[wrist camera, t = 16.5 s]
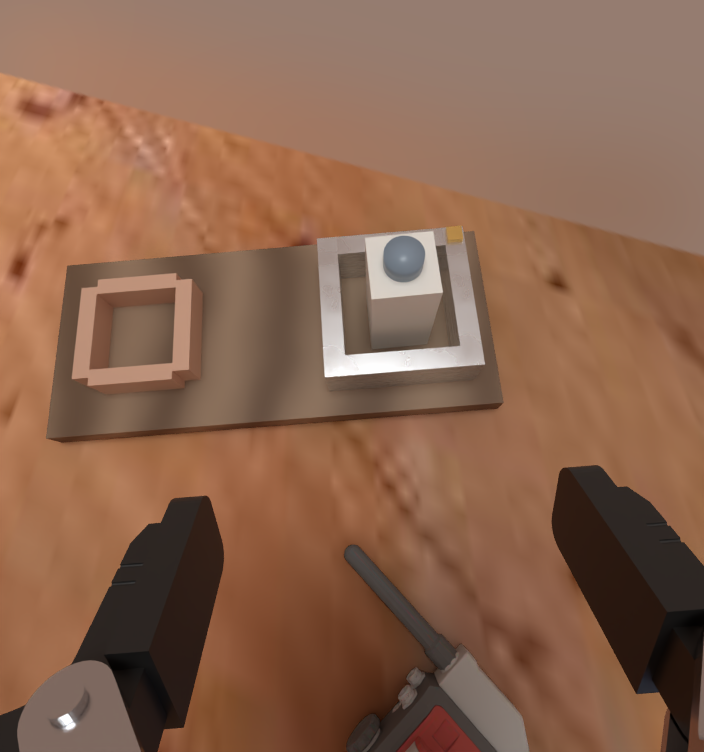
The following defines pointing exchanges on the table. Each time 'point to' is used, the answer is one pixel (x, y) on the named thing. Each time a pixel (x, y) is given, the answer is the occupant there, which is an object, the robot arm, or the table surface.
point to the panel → (247, 351)
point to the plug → (402, 288)
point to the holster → (98, 326)
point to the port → (408, 365)
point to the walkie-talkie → (436, 692)
